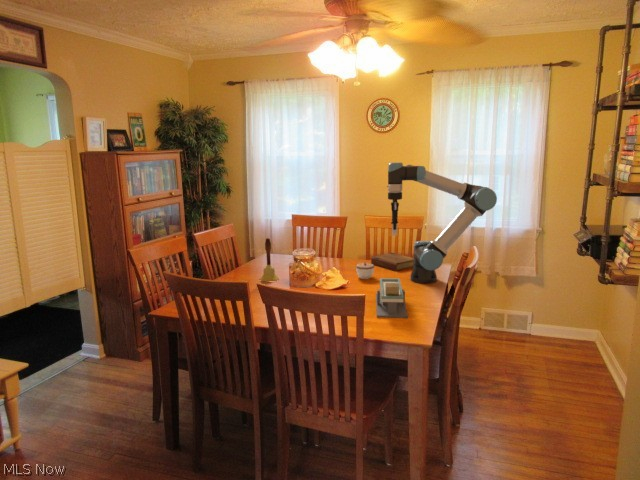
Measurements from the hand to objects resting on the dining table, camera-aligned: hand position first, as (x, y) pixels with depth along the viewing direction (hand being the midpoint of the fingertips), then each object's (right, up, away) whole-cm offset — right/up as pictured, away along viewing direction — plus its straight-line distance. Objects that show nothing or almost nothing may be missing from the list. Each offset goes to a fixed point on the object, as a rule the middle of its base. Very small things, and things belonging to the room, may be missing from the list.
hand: (394, 235), depth 249 cm
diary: (+8, -20, +52) cm, 57 cm away
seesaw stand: (-6, -35, -24) cm, 43 cm away
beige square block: (-7, -29, -34) cm, 45 cm away
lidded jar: (-14, -25, +25) cm, 38 cm away
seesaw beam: (-6, -28, -25) cm, 38 cm away
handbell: (-71, -26, +25) cm, 80 cm away
